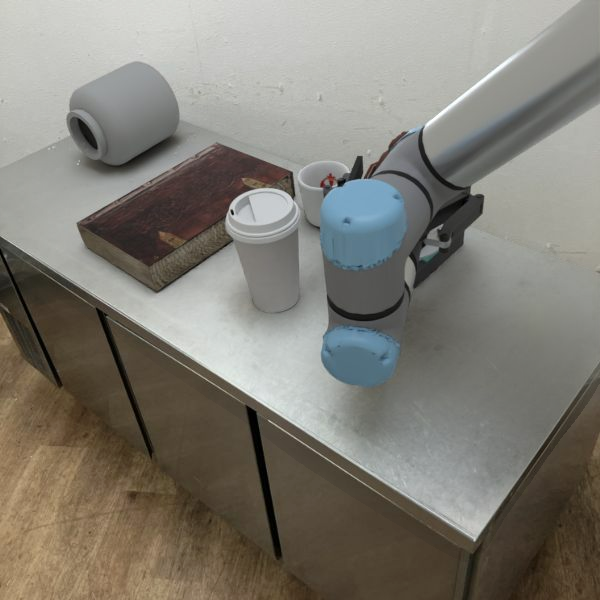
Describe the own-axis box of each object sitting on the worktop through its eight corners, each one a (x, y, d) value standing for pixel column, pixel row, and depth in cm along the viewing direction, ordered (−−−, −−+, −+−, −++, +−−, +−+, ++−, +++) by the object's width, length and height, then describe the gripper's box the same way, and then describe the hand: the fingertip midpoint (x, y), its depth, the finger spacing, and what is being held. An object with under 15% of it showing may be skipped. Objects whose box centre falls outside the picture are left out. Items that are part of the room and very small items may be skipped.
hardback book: (220, 164, 116) (215, 139, 113) (296, 198, 106) (292, 171, 103) (84, 246, 102) (74, 220, 99) (157, 293, 92) (148, 266, 88)
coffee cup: (250, 272, 93) (232, 184, 83) (315, 274, 91) (305, 184, 81) (234, 319, 86) (213, 229, 76) (305, 322, 85) (292, 230, 74)
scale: (463, 243, 93) (465, 227, 91) (414, 288, 87) (415, 271, 85) (396, 215, 100) (396, 199, 98) (346, 255, 94) (345, 239, 92)
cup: (376, 209, 102) (375, 164, 96) (362, 239, 96) (360, 194, 91) (311, 201, 105) (307, 157, 100) (294, 230, 100) (289, 185, 94)
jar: (205, 128, 117) (76, 168, 103) (181, 167, 129) (63, 207, 116) (154, 40, 118) (20, 68, 104) (136, 87, 130) (13, 117, 117)
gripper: (281, 281, 78) (322, 185, 93) (494, 303, 72) (502, 196, 87) (273, 231, 73) (318, 138, 88) (502, 250, 67) (509, 146, 82)
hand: (409, 166), depth 88 cm, fingers open, 13 cm apart
